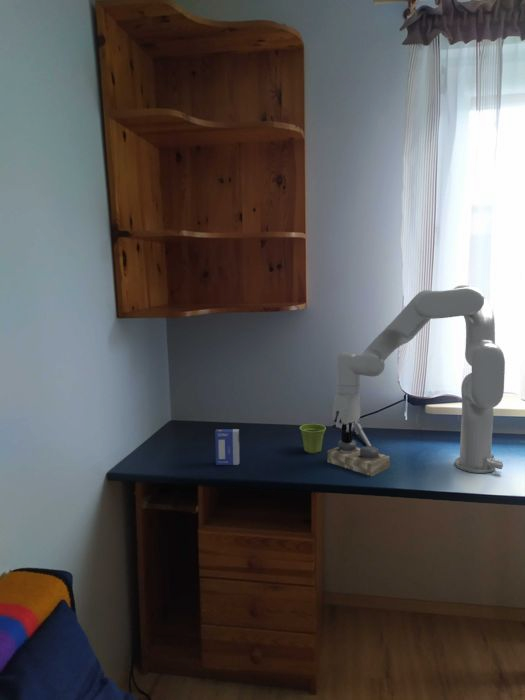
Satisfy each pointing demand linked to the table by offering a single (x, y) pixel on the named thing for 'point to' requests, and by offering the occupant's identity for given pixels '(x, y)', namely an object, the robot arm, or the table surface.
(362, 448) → the knob near
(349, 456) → the mount
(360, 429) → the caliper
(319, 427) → the plant pot
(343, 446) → the knob far
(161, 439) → the table surface
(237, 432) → the blue upright box
